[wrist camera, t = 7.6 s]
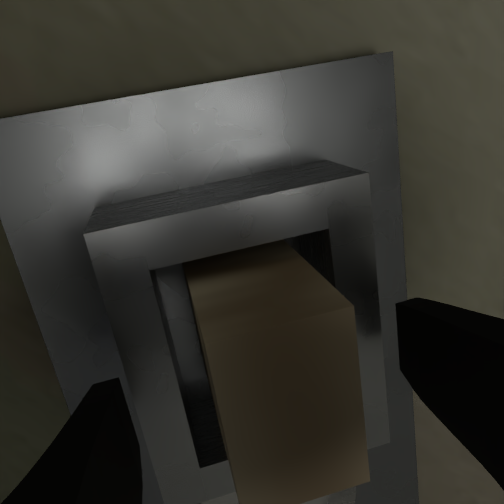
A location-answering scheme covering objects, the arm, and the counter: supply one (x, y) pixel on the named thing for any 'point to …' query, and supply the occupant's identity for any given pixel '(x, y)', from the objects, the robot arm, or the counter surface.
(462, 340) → the robot arm
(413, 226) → the counter surface
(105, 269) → the black tray
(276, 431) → the cardboard box
